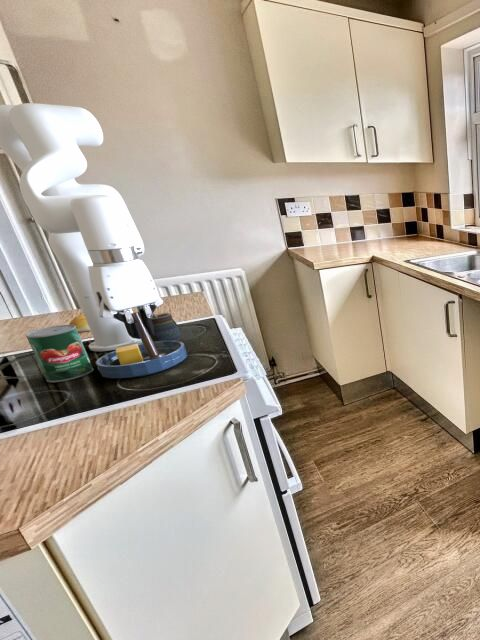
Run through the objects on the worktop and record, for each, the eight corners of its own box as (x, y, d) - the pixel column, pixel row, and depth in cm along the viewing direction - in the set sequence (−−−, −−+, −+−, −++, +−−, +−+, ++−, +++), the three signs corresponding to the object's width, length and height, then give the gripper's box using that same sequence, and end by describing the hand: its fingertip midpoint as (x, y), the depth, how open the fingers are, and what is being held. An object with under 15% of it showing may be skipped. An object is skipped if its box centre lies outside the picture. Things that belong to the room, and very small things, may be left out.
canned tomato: (64, 383, 93) (43, 337, 89) (36, 381, 95) (14, 335, 91) (102, 368, 101) (84, 325, 97) (76, 367, 102) (57, 324, 98)
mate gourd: (166, 348, 112) (153, 313, 108) (142, 347, 113) (129, 312, 110) (190, 339, 119) (179, 305, 115) (167, 338, 120) (156, 304, 116)
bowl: (85, 375, 97) (79, 361, 96) (161, 350, 111) (156, 337, 110) (129, 385, 92) (124, 370, 91) (203, 357, 106) (199, 344, 105)
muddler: (142, 365, 98) (118, 316, 95) (163, 358, 102) (141, 311, 98) (150, 365, 96) (126, 314, 93) (171, 358, 99) (149, 309, 96)
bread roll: (74, 334, 126) (69, 321, 124) (69, 328, 131) (64, 316, 129) (110, 326, 132) (106, 314, 130) (104, 321, 137) (100, 310, 135)
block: (121, 363, 102) (115, 348, 100) (142, 358, 104) (137, 343, 103) (122, 368, 99) (115, 352, 98) (143, 363, 101) (137, 348, 100)
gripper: (144, 250, 99) (169, 324, 106) (57, 262, 85) (92, 346, 92) (164, 251, 96) (189, 327, 103) (78, 264, 83) (113, 350, 89)
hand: (143, 335), depth 97 cm, fingers closed on muddler
